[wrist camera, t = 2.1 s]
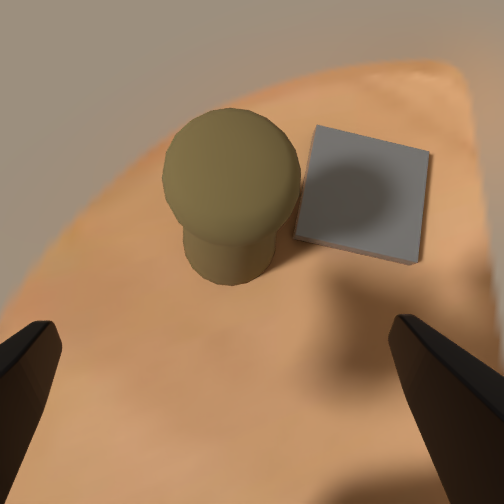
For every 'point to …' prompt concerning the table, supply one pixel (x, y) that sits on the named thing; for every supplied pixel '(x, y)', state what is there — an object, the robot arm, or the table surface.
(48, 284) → the table surface
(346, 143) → the coaster
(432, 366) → the robot arm
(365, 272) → the table surface
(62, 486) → the table surface
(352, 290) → the table surface
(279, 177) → the cork
